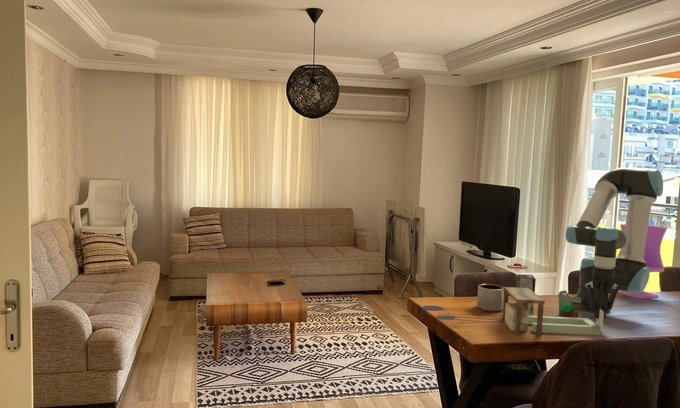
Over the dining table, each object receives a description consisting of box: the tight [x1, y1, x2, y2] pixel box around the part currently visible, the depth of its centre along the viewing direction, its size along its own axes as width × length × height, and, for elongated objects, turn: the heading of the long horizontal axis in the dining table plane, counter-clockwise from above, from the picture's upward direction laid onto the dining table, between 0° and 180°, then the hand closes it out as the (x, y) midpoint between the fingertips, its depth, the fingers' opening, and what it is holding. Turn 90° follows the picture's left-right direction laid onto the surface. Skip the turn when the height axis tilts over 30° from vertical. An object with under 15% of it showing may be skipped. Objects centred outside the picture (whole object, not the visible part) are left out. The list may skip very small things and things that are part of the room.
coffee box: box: [515, 273, 537, 316], centre depth 228 cm, size 9×6×16 cm
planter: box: [476, 283, 504, 312], centre depth 235 cm, size 11×11×10 cm
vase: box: [616, 223, 668, 300], centre depth 269 cm, size 16×16×35 cm
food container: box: [556, 290, 581, 318], centre depth 225 cm, size 12×6×10 cm, turn 5°
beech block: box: [504, 302, 529, 332], centre depth 210 cm, size 6×10×8 cm, turn 178°
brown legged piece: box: [501, 286, 545, 336], centre depth 210 cm, size 10×19×13 cm, turn 178°
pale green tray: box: [528, 315, 602, 336], centre depth 210 cm, size 25×12×3 cm, turn 88°
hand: (599, 326), depth 209 cm, fingers closed
